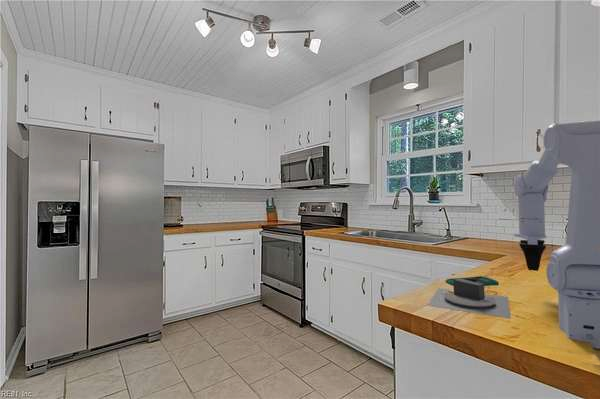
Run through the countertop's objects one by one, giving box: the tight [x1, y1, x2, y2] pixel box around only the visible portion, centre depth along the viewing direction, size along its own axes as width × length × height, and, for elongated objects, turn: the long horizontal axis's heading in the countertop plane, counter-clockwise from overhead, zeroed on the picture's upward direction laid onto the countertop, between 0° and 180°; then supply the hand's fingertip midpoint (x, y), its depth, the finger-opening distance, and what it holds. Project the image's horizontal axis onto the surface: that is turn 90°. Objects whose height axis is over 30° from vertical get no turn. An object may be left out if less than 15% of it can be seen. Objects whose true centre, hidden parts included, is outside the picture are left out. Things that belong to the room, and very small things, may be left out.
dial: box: [444, 277, 495, 308], centre depth 82 cm, size 12×12×5 cm
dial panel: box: [427, 287, 512, 320], centre depth 82 cm, size 18×18×1 cm
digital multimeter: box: [445, 275, 500, 287], centre depth 99 cm, size 7×15×3 cm, turn 100°
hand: (533, 267), depth 83 cm, fingers open, 7 cm apart
